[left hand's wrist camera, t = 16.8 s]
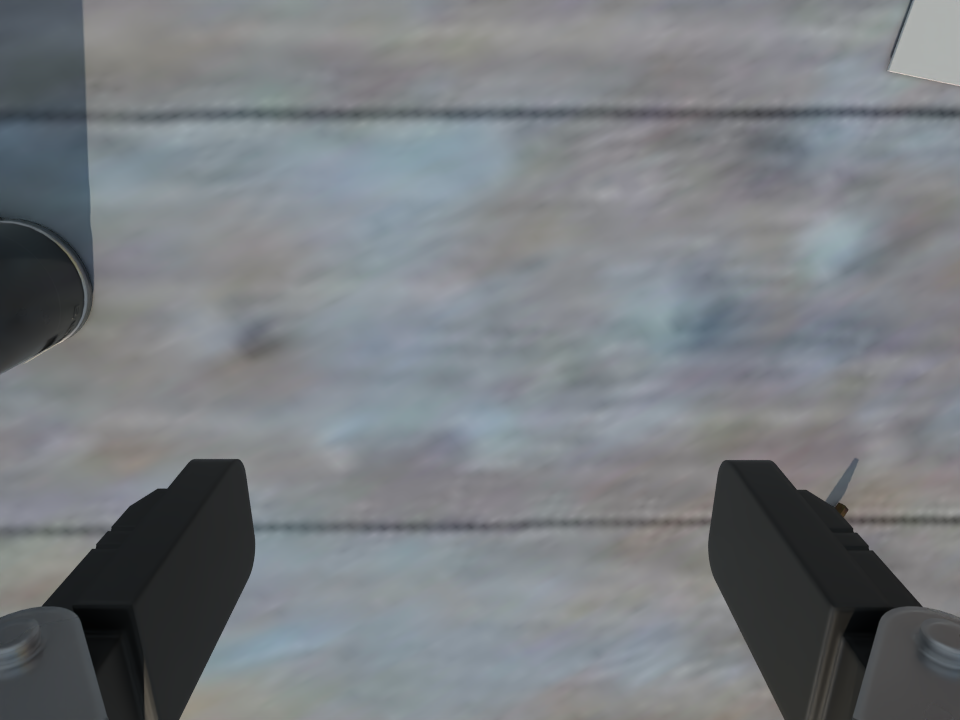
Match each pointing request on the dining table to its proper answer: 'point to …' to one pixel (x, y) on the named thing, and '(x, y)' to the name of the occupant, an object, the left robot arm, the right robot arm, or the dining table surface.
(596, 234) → the dining table surface
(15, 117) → the dining table surface
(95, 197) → the dining table surface
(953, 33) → the invitation card
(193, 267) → the dining table surface
